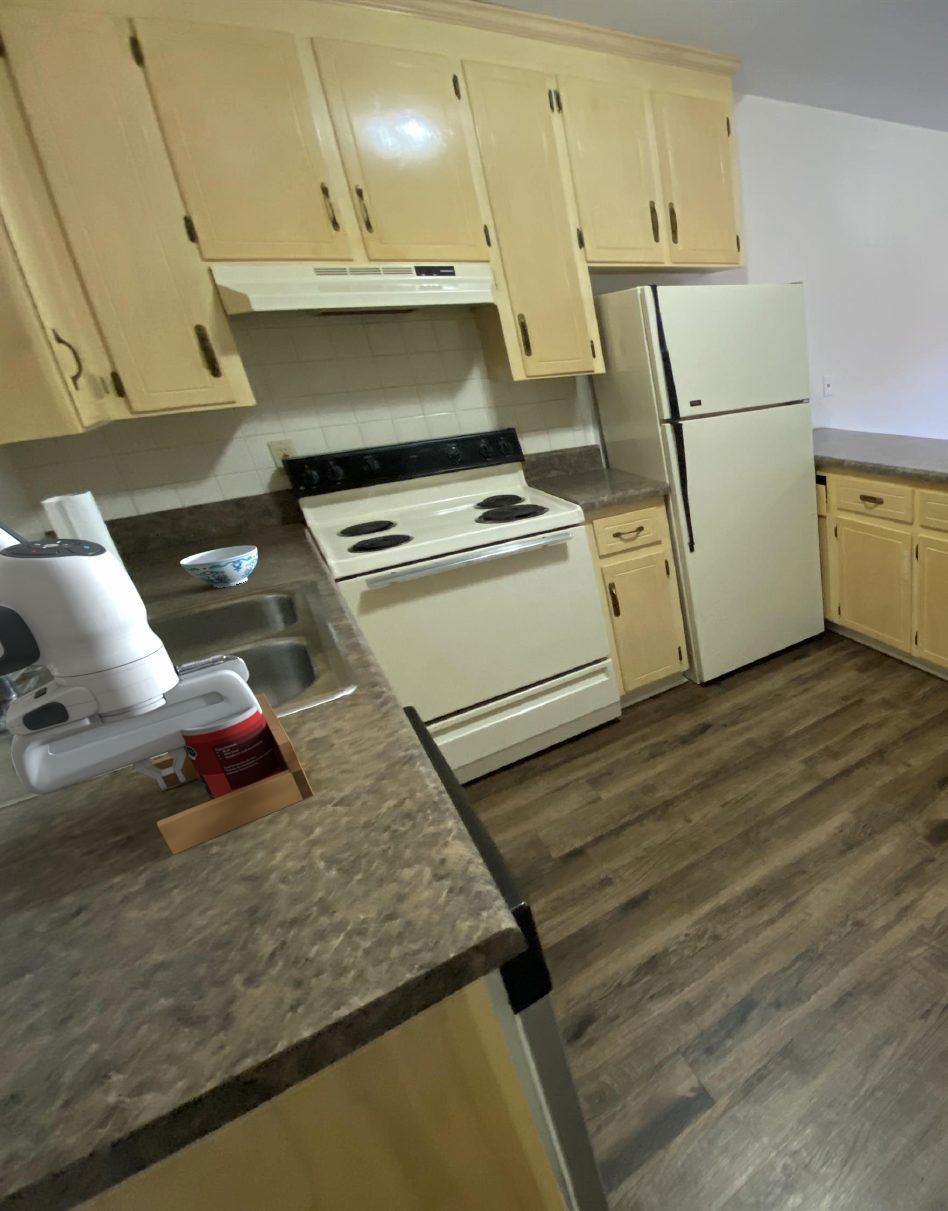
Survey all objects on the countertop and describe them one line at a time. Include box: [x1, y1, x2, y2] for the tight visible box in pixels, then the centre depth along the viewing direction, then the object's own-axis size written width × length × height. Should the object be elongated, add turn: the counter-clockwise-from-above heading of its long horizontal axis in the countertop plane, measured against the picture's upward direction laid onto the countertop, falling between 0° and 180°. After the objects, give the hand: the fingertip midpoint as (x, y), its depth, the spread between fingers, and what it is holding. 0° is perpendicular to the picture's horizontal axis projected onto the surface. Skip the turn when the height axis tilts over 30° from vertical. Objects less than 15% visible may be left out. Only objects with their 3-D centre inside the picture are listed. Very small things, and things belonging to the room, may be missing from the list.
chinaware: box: [179, 545, 259, 589], centre depth 166 cm, size 15×15×8 cm
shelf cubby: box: [152, 693, 315, 856], centre depth 82 cm, size 13×18×8 cm
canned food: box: [181, 706, 287, 800], centre depth 82 cm, size 8×8×11 cm
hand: (174, 783), depth 78 cm, fingers closed
